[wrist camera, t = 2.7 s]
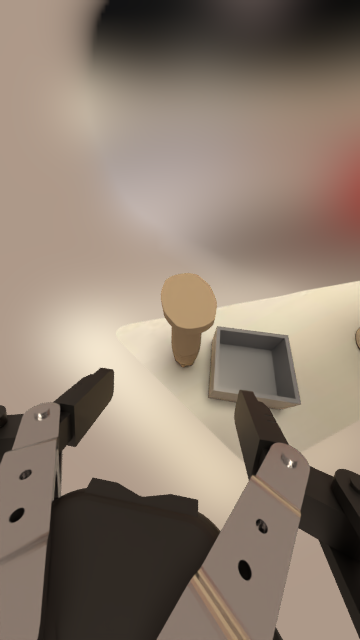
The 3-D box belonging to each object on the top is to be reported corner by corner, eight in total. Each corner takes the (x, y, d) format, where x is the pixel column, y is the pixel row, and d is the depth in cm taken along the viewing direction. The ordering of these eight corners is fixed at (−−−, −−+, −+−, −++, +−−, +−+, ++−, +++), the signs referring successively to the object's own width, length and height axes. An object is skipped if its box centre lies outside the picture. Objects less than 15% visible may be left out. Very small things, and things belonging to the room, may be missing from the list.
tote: (272, 349, 30) (288, 335, 25) (280, 409, 25) (301, 404, 21) (212, 341, 30) (216, 326, 26) (208, 397, 26) (213, 390, 21)
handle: (194, 337, 31) (203, 270, 18) (205, 374, 27) (225, 322, 15) (166, 343, 30) (156, 277, 18) (174, 381, 27) (168, 333, 14)
